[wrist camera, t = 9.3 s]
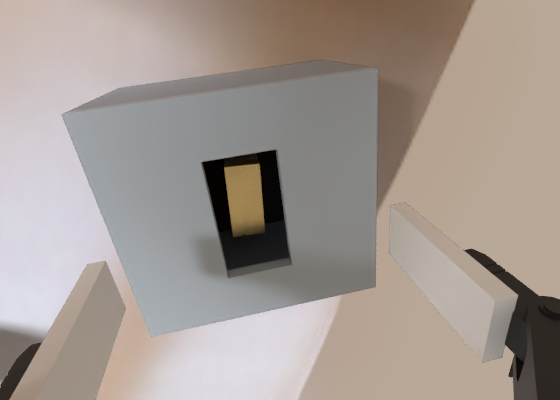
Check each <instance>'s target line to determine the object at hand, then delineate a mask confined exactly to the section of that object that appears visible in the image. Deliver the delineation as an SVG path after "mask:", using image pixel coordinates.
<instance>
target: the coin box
mask: <svg viewBox="0 0 560 400" xmlns="http://www.w3.org/2000/svg"><path fill="white" fill-rule="evenodd" d="M61 115H62V117H63V120H64V122H65V125H66V127H67V130H68V132H69V135H70V137H71V140H72V142H73V145H74V147H75V150H76V152H77V155H78V157H79V159H80V162H81V164H82V167H83V169H84V172H85V174H86V177H87V179H88V182H89V184H90V187H91V189H92V192H93V194H94V197H95V199H96V202H97V204H98V207H99V209H100V212H101V214H102V217H103V219H104V222H105V224H106V227H107V229H108V232H109V234H110V237H111V239H112V242H113V244H114V246H115V249H116V251H117V254H118V256H119V259H120V261H121V264H122V266H123V269H124V271H125V274H126V276H127V279H128V281H129V284H130V286H131V289H132V291H133V294H134V296H135V299H136V301H137V304H138V306H139V309H140V311H141V314H142V316H143V319H144V321H145V324H146V326H147V329H148V331H149V333H150V336H151V337H153V336H158V335H162V334H167V333H171V332H176V331H180V330H185V329H189V328H194V327H198V326H203V325H207V324H212V323H216V322H221V321H225V320H230V319H234V318H239V317H243V316H248V315H252V314H257V313H261V312H266V311H270V310H275V309H279V308H284V307H288V306H293V305H297V304H302V303H306V302H310V301H315V300H319V299H324V298H328V297H333V296H337V295H342V294H346V293H351V292H355V291H360V290H364V289H369V288H373V287H375V285H376V283H375V282H376V207H377V126H378V68H373V67H366V66H359V65H352V64H345V63H338V62H331V61H325V60H317V61H309V62H302V63H295V64H288V65H281V66H274V67H267V68H260V69H252V70H245V71H238V72H231V73H224V74H217V75H210V76H203V77H195V78H188V79H181V80H174V81H167V82H160V83H153V84H146V85H138V86H131V87H124V88H118V89H116V90H114V91H111V92H109V93H107V94H105V95H103V96H101V97H98V98H96V99H94V100H92V101H90V102H88V103H85V104H83V105H81V106H79V107H77V108H74V109H72V110H70V111H68V112H66V113H64V114H61ZM270 150H276V155H277V163H278V171H279V179H280V187H281V194H282V202H283V210H284V218H285V220H281V221H276V222H271V223H266V224H264V225H265V233H259V234H252V235H244V236H237V237H233V233H232V230H230V231H224V232H218V227H217V223H216V219H215V214H214V210H213V206H212V201H211V197H210V193H209V188H208V184H207V180H206V175H205V171H204V167H203V163H202V162H204V161H210V160H216V159H222V158H228V157H234V156H240V155H246V154H252V153H258V152H264V151H270Z"/></svg>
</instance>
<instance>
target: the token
mask: <svg viewBox="0 0 560 400" xmlns="http://www.w3.org/2000/svg"><path fill="white" fill-rule="evenodd" d="M223 161H224V171H225V179H226V187H227V194H228V202H229V210H230V218H231V225H232V233H233V237H237V236H244V235H252V234H259V233H265V225H264V213H263V200H262V188H261V175H260V164H259V161H258V158H257V156H256V153H252V154H246V155H240V156H234V157H228V158H223Z"/></svg>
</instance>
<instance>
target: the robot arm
mask: <svg viewBox="0 0 560 400" xmlns="http://www.w3.org/2000/svg"><path fill="white" fill-rule="evenodd" d="M389 254H390V255H391V256H392V257H393V258H394V260H395V261H396V262H397V263H398V264H399V265H400V267H401V268H402V269H403V270H404V271H405V273H406V274H407V275H408V276H409V277H410V279H411V280H412V281H413V282H414V283H415V285H416V286H417V287H418V288H419V289H420V290H421V292H422V293H423V294H424V295H425V296H426V298H427V299H428V300H429V301H430V302H431V304H432V305H433V306H434V307H435V308H436V309H437V311H438V312H439V313H440V314H441V315H442V317H443V318H444V319H445V320H446V321H447V323H448V324H449V325H450V326H451V327H452V328H453V330H454V331H455V332H456V333H457V334H458V336H459V337H460V338H461V339H462V340H463V342H464V343H465V344H466V345H467V346H468V348H469V349H470V350H471V351H472V352H473V353H474V355H475V356H476V357H477V358H478V359H479V361H480V362H481V363H483V362H487V361H491V360H495V359H499V358H502V356H503V352H504V348H505V345H506V346H507V347H508V348H509V349H510V350H511V351H512V352H513V353H514V354H515V355H514V358H513V362H512V365H511V369H510V372H509V377H513V384H514V400H560V299H556V298H553V297H547V296H538V295H537V294H536V293H534V292H533V291H532V290H531V289H529V288H528V287H527V286H525V285H524V284H523V283H522V282H520V281H519V280H518V279H516V278H515V277H514V276H513V275H511V274H510V273H509V272H506V271H505V269H503V268H502V267H501V266H499V265H497V264H496V262H494V261H493V260H492V259H491V258H489V257H488V256H486V255H485V254H483V253H480V252H478V251H476V250H474V249H468V250H463V249H461V248H460V247H459V246H458V245H457V244H455V243H454V242H453V241H452V240H450V239H449V238H448V237H447V236H446V235H444V234H443V233H442V232H441V231H440V230H438V229H437V228H436V227H435V226H434V225H432V224H431V223H430V222H429V221H427V220H426V219H425V218H424V217H423V216H421V215H420V214H419V213H418V212H416V211H415V210H414V209H413V208H411V207H410V206H409V205H408V204H407V203H406V202H405V203H400V204H394V205H391V206H390V233H389ZM125 309H126V308H125V305H124V303H123V301H122V298H121V296H120V294H119V291H118V289H117V287H116V284H115V282H114V279H113V277H112V275H111V272H110V270H109V268H108V265H107V263H106V261H102V262H97V263H91V264H87V265H86V267H85V269H84V271H83V272H82V274H81V276H80V278H79V279H78V281H77V283H76V285H75V286H74V288H73V290H72V292H71V293H70V295H69V297H68V299H67V300H66V302H65V304H64V305H63V307H62V309H61V311H60V312H59V314H58V316H57V318H56V319H55V321H54V323H53V325H52V326H51V328H50V330H49V332H48V333H47V335H46V337H45V339H44V340H43V342H42V343H38V344H33V345H31V346H30V347H29V348H28V349H26V350H25V351H24V352H23V353H22V354H21V355H20V356H19V357H18V358H17V360H16V361H15V363H14V364H13V366H12V368H11V369H10V371H9V372H8V376H6V377H5V379H4V380H3V382H2V384H1V388H0V400H96V397H97V394H98V391H99V388H100V385H101V382H102V379H103V376H104V372H105V369H106V366H107V363H108V360H109V357H110V354H111V351H112V348H113V345H114V342H115V339H116V336H117V333H118V330H119V327H120V324H121V321H122V318H123V315H124V312H125Z"/></svg>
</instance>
